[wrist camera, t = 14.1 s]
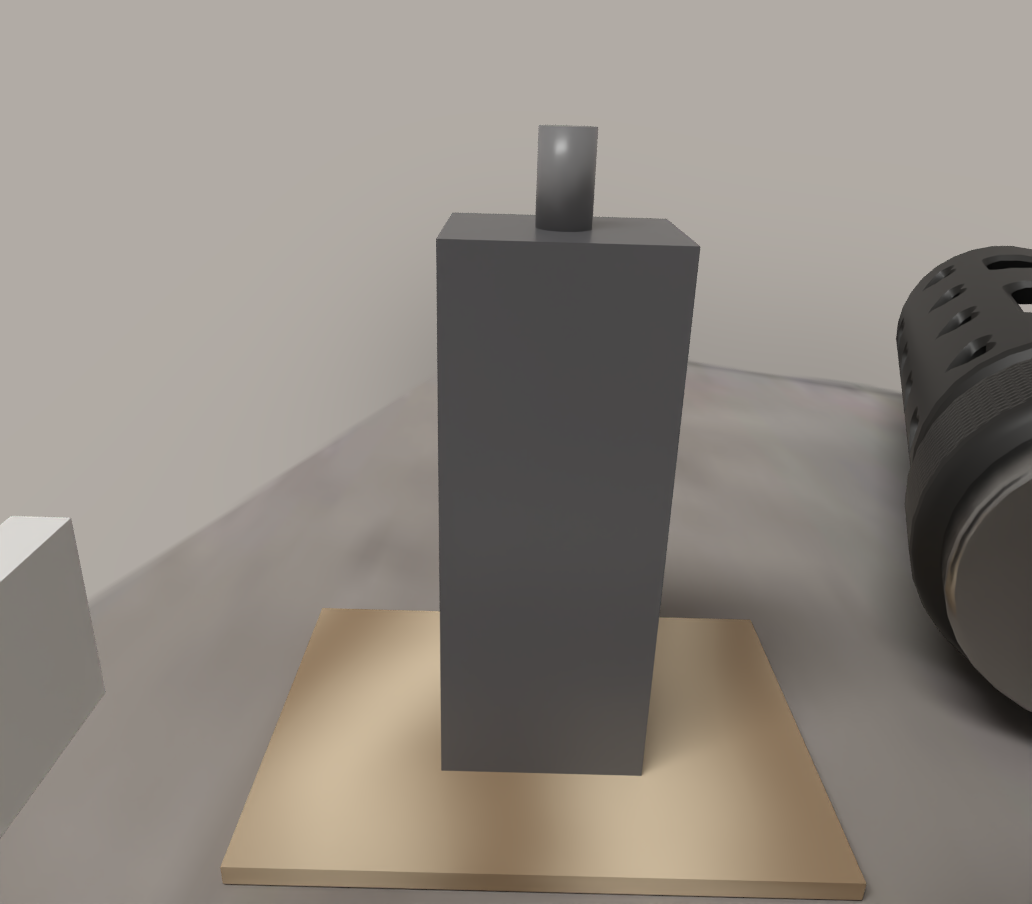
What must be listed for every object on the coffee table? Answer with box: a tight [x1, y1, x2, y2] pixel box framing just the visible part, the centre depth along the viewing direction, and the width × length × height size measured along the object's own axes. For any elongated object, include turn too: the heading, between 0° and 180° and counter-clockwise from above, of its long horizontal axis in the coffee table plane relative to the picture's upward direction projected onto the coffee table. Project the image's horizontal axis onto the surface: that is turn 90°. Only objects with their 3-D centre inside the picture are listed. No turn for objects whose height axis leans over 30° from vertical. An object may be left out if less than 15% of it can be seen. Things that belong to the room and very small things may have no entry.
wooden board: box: [221, 608, 866, 900], centre depth 23 cm, size 14×10×1 cm
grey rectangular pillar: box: [436, 125, 700, 776], centre depth 20 cm, size 5×4×15 cm
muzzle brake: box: [896, 246, 1032, 712], centre depth 32 cm, size 10×28×10 cm, turn 158°
